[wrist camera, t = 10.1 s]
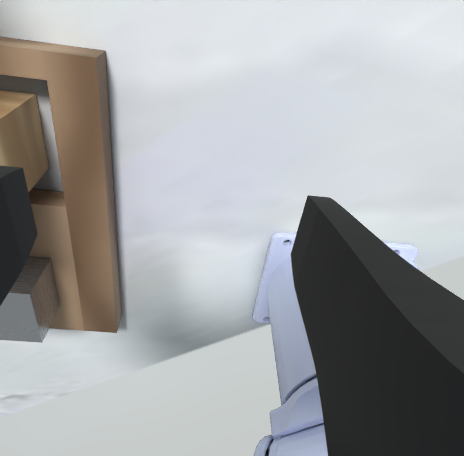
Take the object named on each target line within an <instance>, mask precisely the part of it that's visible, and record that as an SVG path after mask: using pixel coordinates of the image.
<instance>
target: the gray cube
mask: <svg viewBox="0 0 464 456" xmlns="http://www.w3.org/2000/svg"><path fill="white" fill-rule="evenodd" d="M59 306H60V301H59V295H58V290H57V285H56V280H55V275H54V270H53V265H52V260H51V258H50V257H38V256H29V257H28V259H27V261H26V264H25V266H24V268H23V270H22V271H21V273H20V275H19V276H18V278H17V280H16V281H15V283H14V285H13V286H12V288H11V290H10V291H9V293H8V295H7V296H6V298H5V299H4V301H3V303H2V304H1V306H0V340H12V341H28V342H43V339H44V337H45V335H46V333H47V331H48V329H49V327H50V325H51V323H52V321H53V318H54V316H55V314H56V312H57V310H58V308H59Z"/></svg>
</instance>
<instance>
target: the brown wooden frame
mask: <svg viewBox="0 0 464 456" xmlns="http://www.w3.org/2000/svg"><path fill="white" fill-rule="evenodd" d="M0 74H1V75H9V76H17V77H25V78H33V79H41V80H47V85H48V91H49V98H50V105H51V111H52V118H53V125H54V131H55V138H56V145H57V151H58V158H59V165H60V171H61V178H62V185H63V191H64V192H58V191H48V190H38V189H31V190H30V191H29V197H30V202H31V206H32V211H33V215H34V220H35V224H36V229H37V233H38V234H37V237H36V240H35V242H34V245H33V247H32V250H31V252H30V255H29V256H38V257H50V258H51V260H52V265H53V270H54V275H55V280H56V285H57V290H58V295H59V301H60V306H59V308H58V310H57V312H56V314H55V316H54V318H53V321H52V323H51V325H50V327H49V328H54V329H69V330H84V331H98V332H113V333H117V330H118V326H119V323H120V319H121V302H120V285H119V268H118V252H117V235H116V219H115V202H114V186H113V169H112V152H111V136H110V119H109V103H108V86H107V70H106V53H105V51H103V50H95V49H88V48H81V47H73V46H66V45H58V44H51V43H43V42H36V41H29V40H21V39H14V38H6V37H0Z"/></svg>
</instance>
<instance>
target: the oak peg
mask: <svg viewBox="0 0 464 456" xmlns="http://www.w3.org/2000/svg"><path fill="white" fill-rule="evenodd" d="M0 165H1V166H11V167H21V168H23V170H24V175H25V179H26V184H27V188H28V193H29V191H30V190H31V189H32V188H33V187H34V185H35V184H36V183H37V182H38V181H39V180H40V178H41V177H42V176H43V175H44V174H45V172H46V171H47V170H48V169H49V165H48V159H47V154H46V148H45V143H44V137H43V131H42V126H41V120H40V114H39V109H38V103H37V97H36V94H32V93H23V92H14V91H6V90H0Z"/></svg>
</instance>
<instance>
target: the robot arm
mask: <svg viewBox="0 0 464 456" xmlns="http://www.w3.org/2000/svg"><path fill="white" fill-rule="evenodd" d="M37 234H38V233H37V229H36V224H35V220H34V215H33V211H32V206H31V202H30V197H29V193H28V188H27V184H26V179H25V175H24V170H23V168H21V167H11V166H1V165H0V306H1V304H2V303H3V301H4V299H5V298H6V296H7V295H8V293H9V291H10V290H11V288H12V286H13V285H14V283H15V281H16V280H17V278H18V276H19V275H20V273H21V271H22V270H23V268H24V266H25V264H26V261H27V259H28V257H29V255H30V252H31V250H32V247H33V245H34V242H35V240H36V237H37ZM285 240H290V241H289V242H287V243H285V242H284V241H285ZM394 250H396V251H395V252H394ZM417 255H418V250H417V248H416V247H415V246H413V245H406V244H396V243H385V242H382V241H381V240H380V239H379V238H378V237H376V236H375V235H374V234H373V233H372V232H370V231H369V230H368V229H367V228H366V227H365V226H364V225H362V224H361V223H360V222H359V221H358V220H357V219H356V218H354V217H353V216H352V215H351V214H350V213H349V212H348V211H346V210H345V209H344V208H343V207H342V206H340V205H339V204H338V203H337V202H335V201H334V200H333V199H331V198H328V197H318V196H308V197H307V200H306V203H305V207H304V210H303V214H302V217H301V220H300V224H299V227H298V231H297V234H290V233H275V234H274V235H272V237H271V240H270V244H269V248H268V252H267V256H266V261H265V265H264V269H263V273H262V277H261V281H260V286H259V290H258V294H257V298H256V302H255V307H254V311H253V320H254V321H255V322H257V323H268V324H271V329H272V336H273V345H274V352H275V360H276V367H277V375H278V382H279V390H280V397H281V405H282V406H281V407H279V408H277V409H275V410H272V411H271V412H270V420H271V430H272V435H269V436H265V437H264V438H263V439H262V440H260V442H259V443H258V445H257V447H256V450H255V453H254V456H464V300H462V299H461V298H459V297H458V296H456V295H455V294H453V293H452V292H450V291H449V290H447V289H446V288H444V287H443V286H441V285H439V284H438V283H437V282H435V281H433V280H432V279H430V278H429V277H427V276H426V275H425V274H423V273H422V272H421V271H419V270H418V268H417V267H416V265H415V263H414V261H415V259H416V257H417Z"/></svg>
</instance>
